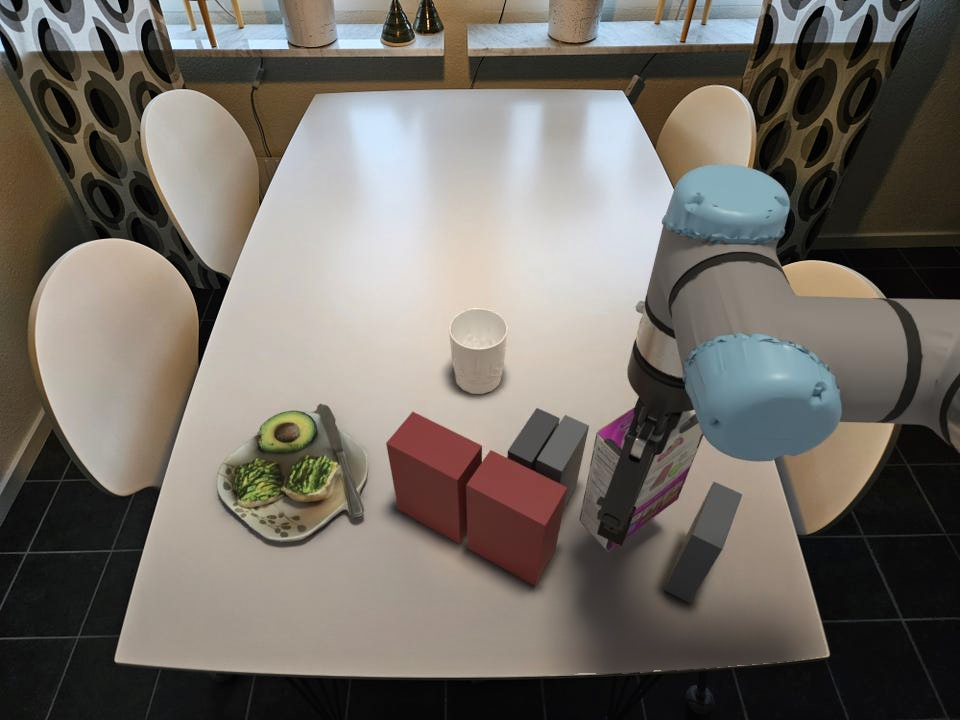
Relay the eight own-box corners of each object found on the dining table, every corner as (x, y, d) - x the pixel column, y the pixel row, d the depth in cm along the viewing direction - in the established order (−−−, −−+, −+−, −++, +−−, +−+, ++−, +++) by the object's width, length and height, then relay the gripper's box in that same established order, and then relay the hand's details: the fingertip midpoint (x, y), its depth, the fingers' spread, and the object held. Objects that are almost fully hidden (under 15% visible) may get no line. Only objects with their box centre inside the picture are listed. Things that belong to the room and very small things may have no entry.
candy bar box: (646, 469, 75) (678, 375, 63) (679, 499, 73) (719, 407, 61) (574, 520, 71) (594, 429, 59) (606, 554, 68) (634, 466, 56)
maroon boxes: (535, 586, 73) (545, 526, 62) (397, 509, 79) (385, 443, 69) (555, 550, 75) (567, 487, 65) (420, 479, 82) (412, 411, 72)
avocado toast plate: (411, 478, 82) (408, 458, 79) (298, 581, 73) (290, 563, 69) (313, 400, 90) (307, 379, 87) (201, 483, 81) (189, 463, 78)
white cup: (514, 368, 95) (517, 319, 87) (489, 405, 90) (491, 357, 83) (467, 350, 97) (466, 300, 90) (441, 385, 92) (437, 336, 85)
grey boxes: (689, 603, 71) (722, 549, 62) (504, 506, 79) (507, 445, 70) (708, 552, 75) (742, 494, 66) (530, 464, 83) (537, 401, 74)
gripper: (683, 257, 61) (641, 402, 77) (576, 432, 47) (551, 566, 63) (763, 283, 59) (702, 427, 75) (676, 477, 45) (623, 604, 60)
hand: (633, 491), depth 69 cm, fingers closed on candy bar box, 12 cm apart
